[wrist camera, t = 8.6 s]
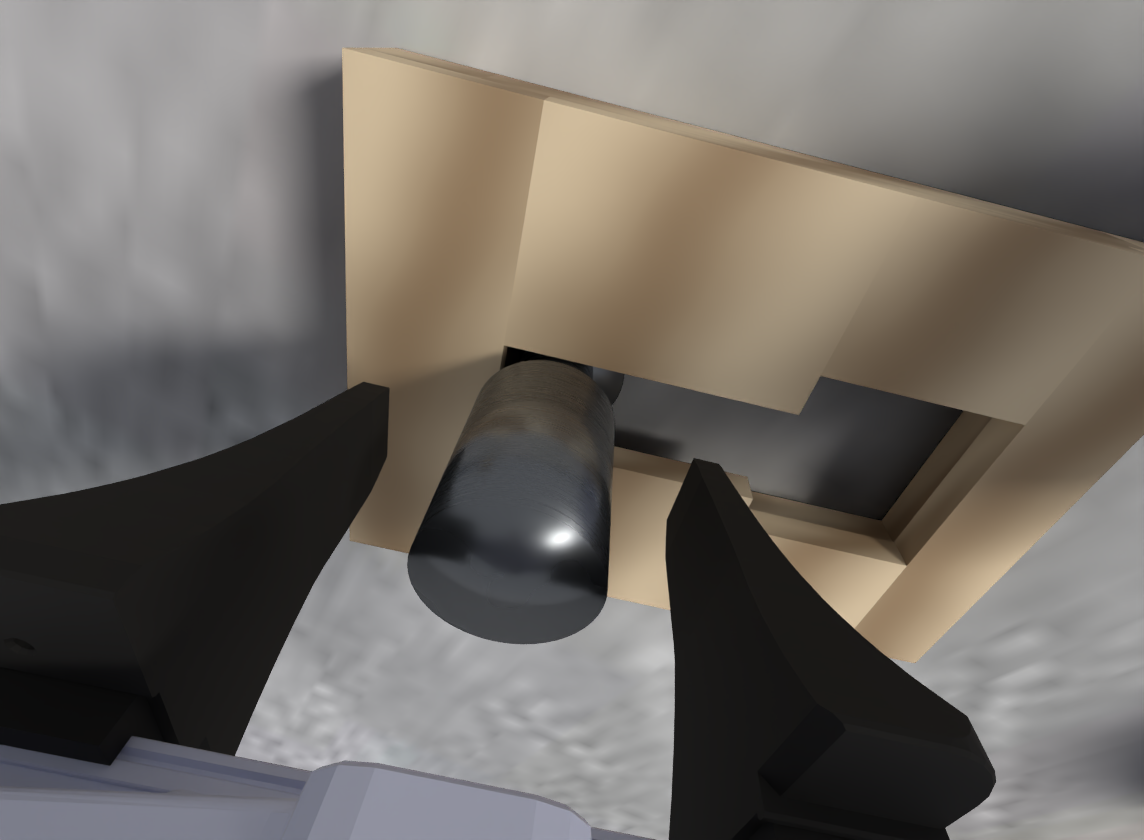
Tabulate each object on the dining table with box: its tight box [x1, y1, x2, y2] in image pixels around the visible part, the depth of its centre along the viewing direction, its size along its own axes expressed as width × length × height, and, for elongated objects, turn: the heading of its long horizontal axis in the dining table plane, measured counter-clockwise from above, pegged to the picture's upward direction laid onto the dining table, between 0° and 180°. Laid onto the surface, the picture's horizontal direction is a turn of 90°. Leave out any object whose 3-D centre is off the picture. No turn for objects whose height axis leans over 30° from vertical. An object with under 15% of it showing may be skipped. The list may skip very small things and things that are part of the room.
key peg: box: [407, 346, 624, 644], centre depth 14 cm, size 4×4×9 cm
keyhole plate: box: [342, 48, 1144, 663], centre depth 16 cm, size 20×14×3 cm
